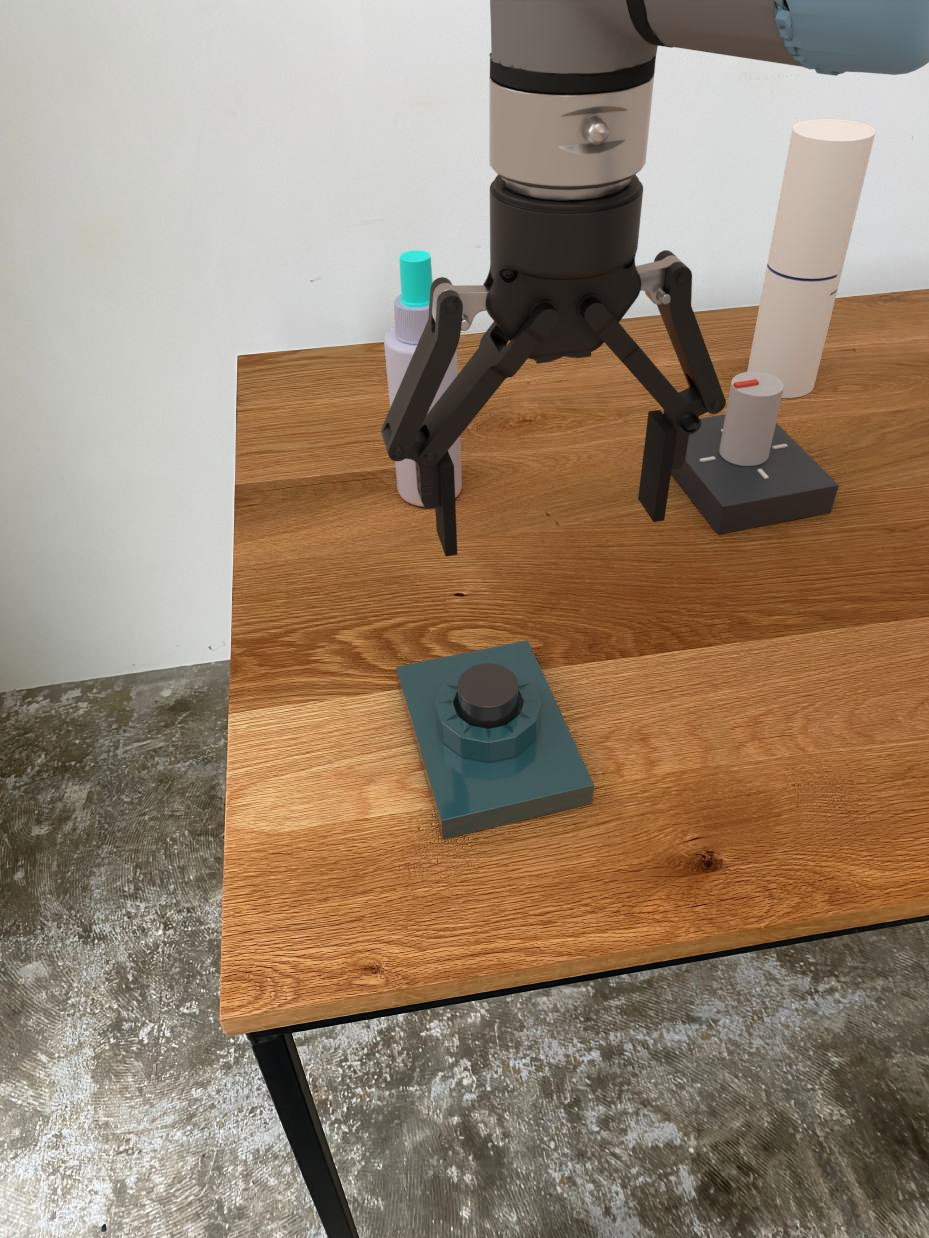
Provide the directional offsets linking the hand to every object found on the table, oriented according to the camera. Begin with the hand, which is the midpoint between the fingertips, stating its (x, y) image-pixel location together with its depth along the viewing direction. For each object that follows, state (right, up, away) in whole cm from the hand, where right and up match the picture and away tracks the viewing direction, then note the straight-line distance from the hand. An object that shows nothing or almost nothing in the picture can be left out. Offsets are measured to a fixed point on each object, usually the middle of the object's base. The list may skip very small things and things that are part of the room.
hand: (550, 526), depth 60 cm
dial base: (+20, +7, +28) cm, 35 cm away
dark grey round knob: (-4, -12, +3) cm, 13 cm away
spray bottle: (-9, +6, +28) cm, 30 cm away
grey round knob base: (-4, -14, +5) cm, 16 cm away
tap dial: (+20, +9, +26) cm, 34 cm away
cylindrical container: (+29, +20, +41) cm, 54 cm away
